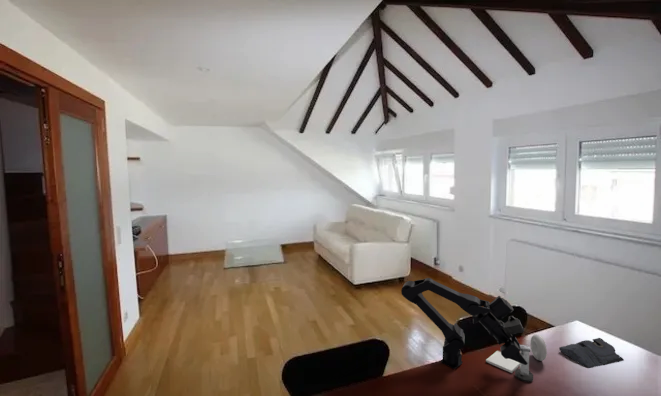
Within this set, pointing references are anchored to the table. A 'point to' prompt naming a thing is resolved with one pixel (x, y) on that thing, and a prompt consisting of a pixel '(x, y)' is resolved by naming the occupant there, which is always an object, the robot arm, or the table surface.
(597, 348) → the folded grey shirt
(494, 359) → the ceramic tile
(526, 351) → the grey channel block
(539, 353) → the donut
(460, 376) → the table surface
